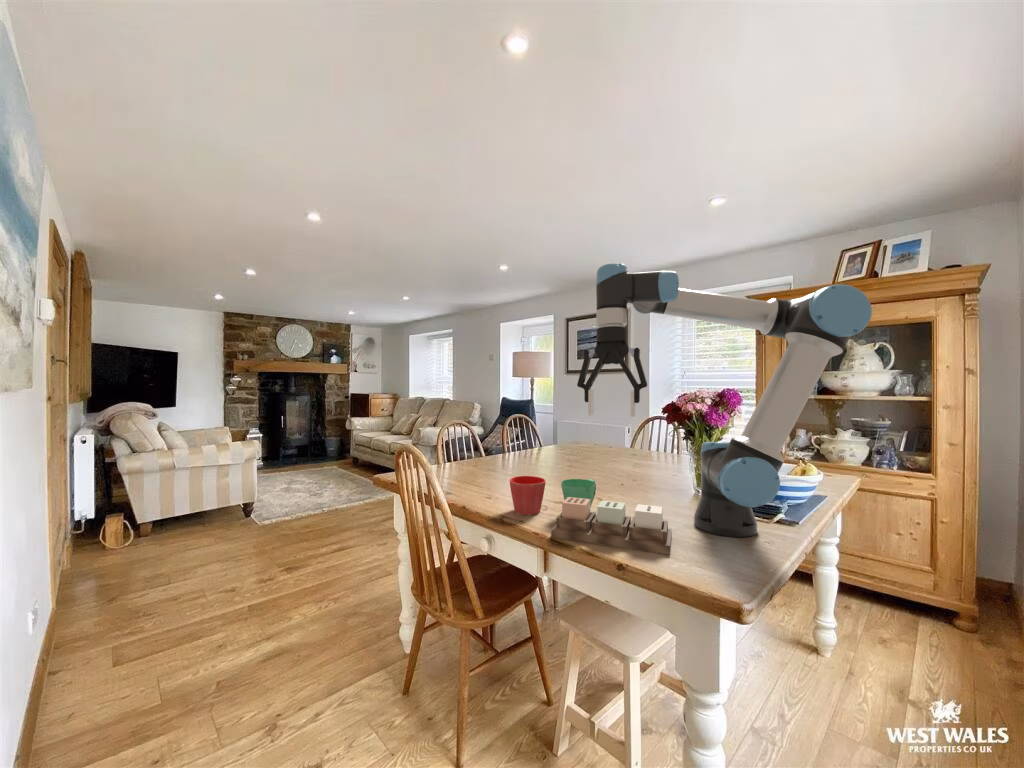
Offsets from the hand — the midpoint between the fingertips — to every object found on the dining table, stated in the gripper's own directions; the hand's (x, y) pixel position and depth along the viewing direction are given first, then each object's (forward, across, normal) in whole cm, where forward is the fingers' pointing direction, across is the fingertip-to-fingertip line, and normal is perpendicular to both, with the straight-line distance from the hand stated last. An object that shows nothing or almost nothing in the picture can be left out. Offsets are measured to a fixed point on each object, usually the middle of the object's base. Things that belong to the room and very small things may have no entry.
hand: (611, 415), depth 106 cm
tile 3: (+26, +9, 0) cm, 28 cm away
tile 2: (+26, 0, 0) cm, 26 cm away
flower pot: (+31, +27, -12) cm, 43 cm away
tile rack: (+31, 0, 0) cm, 31 cm away
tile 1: (+26, -9, 0) cm, 28 cm away
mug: (+31, +11, -15) cm, 36 cm away
